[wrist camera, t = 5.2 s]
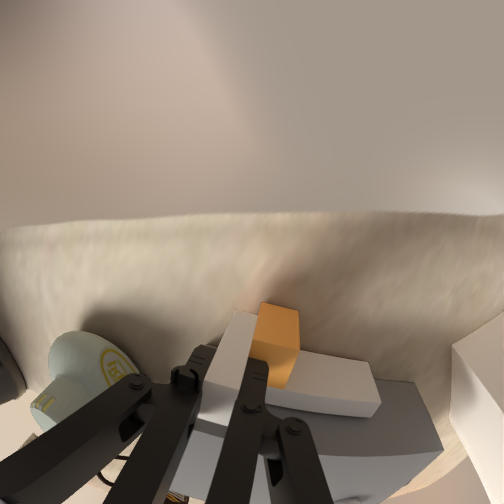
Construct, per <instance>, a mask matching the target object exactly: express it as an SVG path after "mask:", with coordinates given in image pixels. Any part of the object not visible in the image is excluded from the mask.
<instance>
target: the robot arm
mask: <svg viewBox="0 0 504 504" xmlns="http://www.w3.org/2000/svg"><path fill="white" fill-rule="evenodd" d="M257 319H258V315H254V314H251V313H247V312H243V311H239V310H235V309H234V312H233V314H232V316H231V319H230V321H229V323H228V326H227V328H226V330H225V333H224V335H223V337H222V339H221V342H220V344H219V346H218V349H215V348H211V347H208V346H205V345H200V346H198V347H196V348H195V349H194V351H193V352H192V354H191V356H190V358H189V359H188V361H187V363H186V365H184V366H178V367H175V368H174V369H173V370H172V371H171V383H170V384H155V383H151V381H150V379H149V378H148V377H147V376H145V375H143V374H140V373H130V374H128V375H126V376H124V377H123V378H122V379H120V380H119V381H117V382H116V383H115V384H113V385H112V386H110V387H109V388H108V389H106V390H105V391H104V392H102V393H101V394H99V395H98V396H97V397H95V398H94V399H92V400H91V401H89V402H88V403H87V404H85V405H84V406H82V407H81V408H80V409H78V410H77V411H75V412H74V413H72V414H71V415H69V416H68V417H67V418H65V419H64V420H62V421H61V422H59V423H58V424H56V425H55V426H54V427H52V428H51V429H49V430H48V431H46V432H45V433H43V434H42V435H40V436H39V437H37V438H36V439H34V440H33V441H31V442H30V443H28V444H27V445H25V446H24V447H22V448H21V449H19V450H18V451H16V452H15V453H13V454H12V455H10V456H8V457H7V458H5V459H4V460H3V461H1V462H0V504H61V503H63V502H64V501H65V500H66V499H68V498H69V497H70V496H71V495H73V494H74V493H75V492H76V491H77V490H79V489H80V488H81V487H82V486H83V485H85V484H86V483H87V482H88V481H89V480H90V479H92V478H93V477H94V476H95V475H96V474H97V473H99V472H100V471H101V470H102V469H103V468H104V467H105V466H107V465H108V464H109V463H110V462H111V461H112V460H113V459H114V458H115V457H117V456H118V455H119V454H120V453H121V452H122V451H123V450H124V449H125V448H126V447H127V446H129V445H130V444H131V443H132V442H133V441H134V440H135V439H136V438H137V437H138V436H139V435H140V434H141V433H142V432H143V433H142V435H141V437H140V438H139V440H138V442H137V444H136V445H135V447H134V449H133V451H132V452H131V454H130V456H129V458H128V459H127V461H126V463H125V465H124V466H123V468H122V470H121V472H120V474H119V475H118V477H117V479H116V481H115V482H114V484H113V486H112V488H111V489H110V491H109V493H108V495H107V497H106V498H105V500H104V502H103V504H163V503H164V501H165V499H166V496H167V494H168V491H169V489H170V486H171V484H172V482H173V479H174V477H175V474H176V472H177V469H178V467H179V464H180V462H181V459H182V457H183V454H184V452H185V450H186V447H187V445H188V442H189V440H190V437H191V435H192V432H193V430H194V427H195V421H196V418H197V416H198V418H200V419H204V420H207V421H210V422H214V423H217V424H221V425H225V426H228V427H227V431H226V434H225V437H224V441H223V444H222V448H221V451H220V455H219V458H218V461H217V465H216V468H215V471H214V475H213V478H212V481H211V485H210V488H209V491H208V494H207V498H206V501H205V504H249V503H250V498H251V493H252V488H253V482H254V477H255V471H256V465H257V459H258V454H260V455H262V456H263V459H264V465H265V471H266V477H267V483H268V489H269V495H270V501H271V504H334V502H333V499H332V496H331V493H330V490H329V487H328V484H327V481H326V477H325V474H324V471H323V468H322V465H321V462H320V459H319V456H318V453H317V449H316V446H315V443H314V440H313V437H312V434H311V431H310V428H309V426H308V424H307V423H306V422H305V421H304V420H302V419H300V418H298V417H286V418H285V419H283V420H282V419H280V418H278V417H276V416H274V415H272V414H271V413H270V412H269V411H268V410H267V409H266V406H265V396H266V389H267V381H268V375H269V366H268V364H267V362H266V361H262V360H258V359H254V358H250V357H248V355H249V351H250V347H251V343H252V339H253V335H254V331H255V327H256V323H257ZM25 392H26V386H25V382H24V380H23V377H22V375H21V373H20V371H19V369H18V367H17V365H16V363H15V361H14V359H13V357H12V356H11V354H10V352H9V351H8V349H7V347H6V346H5V344H4V343H3V341H2V340H1V338H0V405H1V404H3V403H6V402H8V401H10V400H12V399H14V400H16V399H18V398H20V397H21V396H22V395H23V394H24V393H25Z"/></svg>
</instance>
